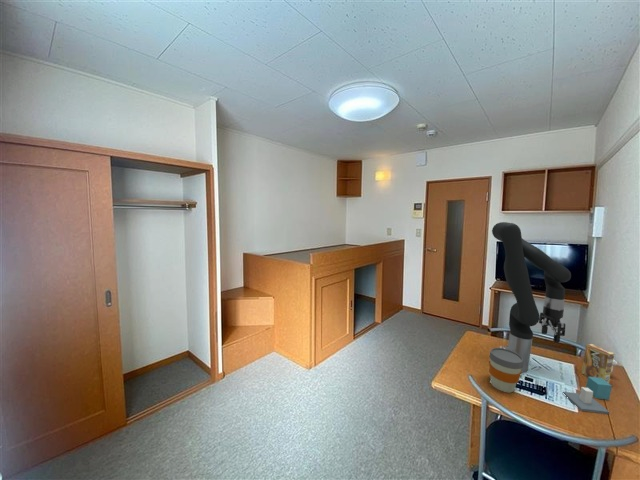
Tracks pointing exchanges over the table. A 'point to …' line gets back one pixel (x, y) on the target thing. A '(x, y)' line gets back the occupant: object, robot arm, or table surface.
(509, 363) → the reusable coffee cup
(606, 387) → the teal block
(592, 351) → the candy box
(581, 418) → the table surface
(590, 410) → the gray base with block
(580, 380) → the table surface
